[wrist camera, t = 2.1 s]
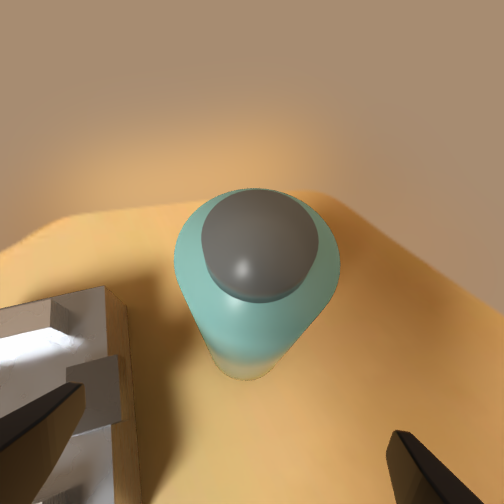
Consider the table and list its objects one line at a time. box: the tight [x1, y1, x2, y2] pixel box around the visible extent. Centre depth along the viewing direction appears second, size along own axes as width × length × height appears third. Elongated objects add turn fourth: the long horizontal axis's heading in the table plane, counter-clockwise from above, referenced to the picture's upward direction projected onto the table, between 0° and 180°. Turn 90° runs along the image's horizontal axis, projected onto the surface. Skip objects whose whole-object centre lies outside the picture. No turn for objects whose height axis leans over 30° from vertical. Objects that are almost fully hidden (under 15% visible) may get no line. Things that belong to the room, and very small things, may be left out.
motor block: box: [0, 286, 142, 504], centre depth 15 cm, size 12×10×6 cm
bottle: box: [174, 188, 340, 381], centre depth 14 cm, size 5×5×14 cm
